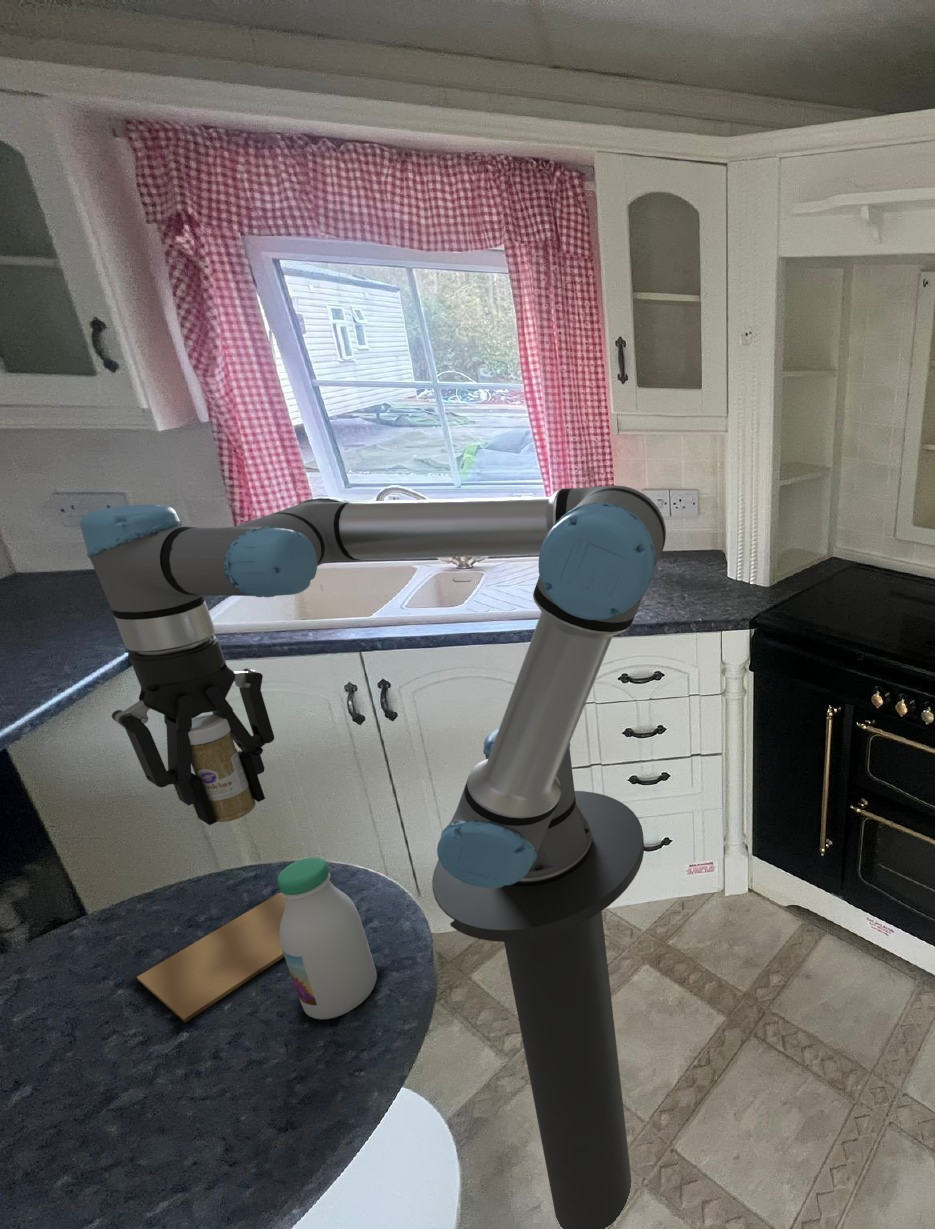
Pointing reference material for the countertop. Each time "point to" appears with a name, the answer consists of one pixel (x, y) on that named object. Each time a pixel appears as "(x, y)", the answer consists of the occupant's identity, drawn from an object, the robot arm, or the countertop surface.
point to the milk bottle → (323, 941)
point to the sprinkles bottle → (219, 767)
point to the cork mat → (219, 961)
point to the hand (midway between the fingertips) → (232, 807)
